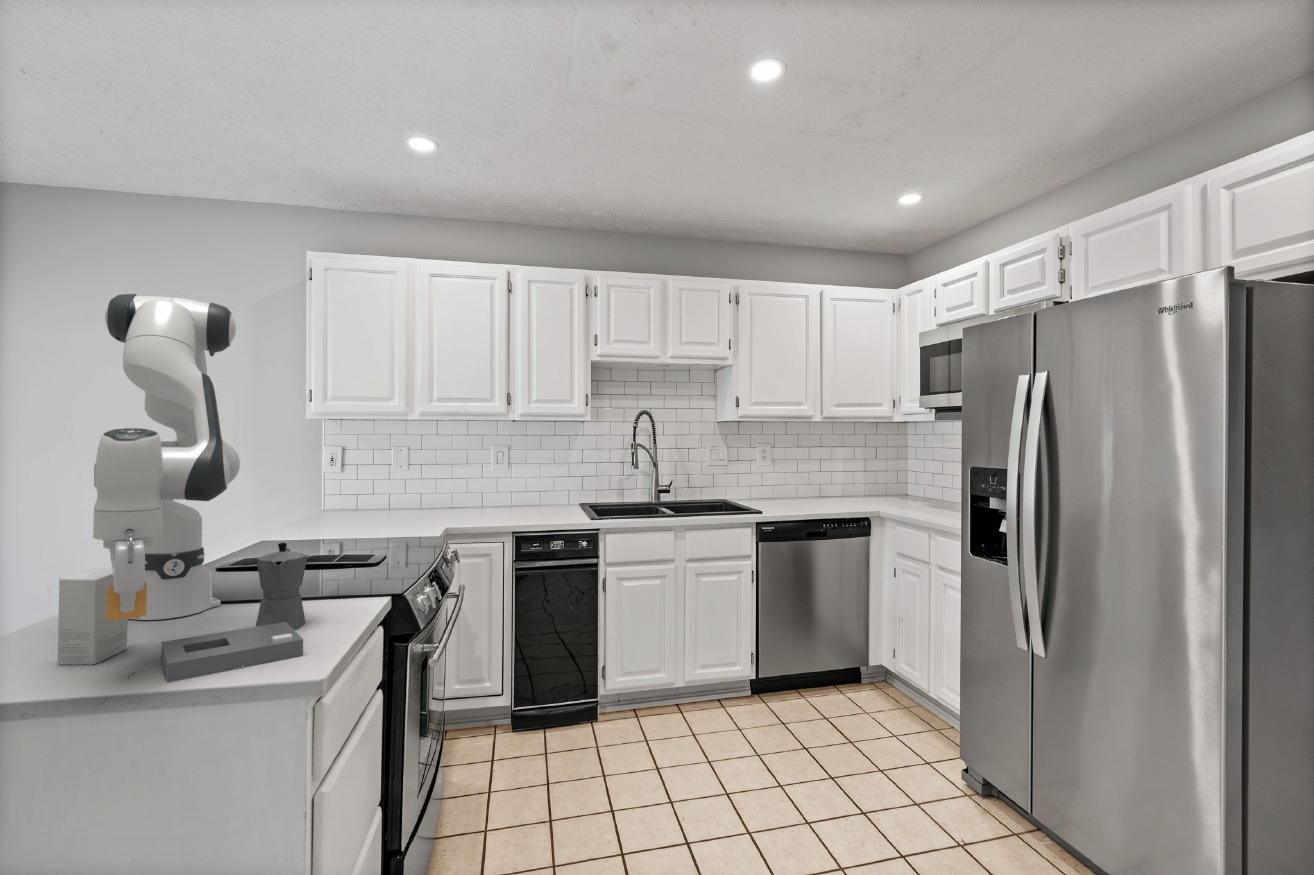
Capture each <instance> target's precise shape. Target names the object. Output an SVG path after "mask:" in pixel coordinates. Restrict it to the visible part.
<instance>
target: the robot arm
mask: <svg viewBox="0 0 1314 875" xmlns="http://www.w3.org/2000/svg"><path fill="white" fill-rule="evenodd" d="M232 314H233V313H232V311H231V310H230V309H229V308H228V307H226V306H224V305H220V304H217V303H214V302H210V303H208V302H203V301H200V300H195V299H194V300H193V299H189V298H183V297H176V296H174V297H169V296H159V295H158V296H155V295H137V293H125V294H117V295H116V296H115V297H113V298H111V299H110V300H109V302H108V304H107V307H106V309H105V313H104V321H105V325H106V328H107V330H108V333H109V335H110V336H111V337H112V338H113V339H114V340H116V341H118V342H121V343H123V344H124V346H123V352H122V368H123V372H124V374H125V375H126V377H127V379H128V380H129V381H130V382H132V384H134V385H135V386H136V387H137V388H138V389H141V391H144V411H145V413H146V415H147V416H148V417H149V418H150V419H151V420H152V421H153V422H156V423H158V424H160V425H162V426H165V427H168V428H170V429H172V430H173V431H174V432H175V436H176V440H171V441H170V440H169V441H166V440H165V441H163V440H162V441H161V437H160V434H159V433H158V432H157V431H154V430H152V429H147V428H138V427H136V428H135V427H127V428H126V427H125V428H124V427H123V428H115V429H110V430H108V431H106V432H104V433H102V434H101V436H100V438H99V439H100V440H99V444H98V447H97V453H96V457H95V458H96V459H95V462H94V468H93V470H94V471H93V472H94V473H93V485H94V487H95V489H96V493H97V496H96V500H95V503H94V506H93V530H92V532H93V534H92V535H93V536H92V538H93V539H95V540H101V541H103V542H102V547H103V548H104V549H108V550H109V557H110V562H111V563H110V564H111V568H112V569H113V582H114V591H115V593H120V611H121V612H122V613H125V612H132V611H133V610H134V609H135V597H136V592H137V591H142V590H143V589H144V584H145V582H146V584H147V606H146V616H140V619H135V617H131V618H128V620H140V621H154V620H155V621H156V620H165V619H166V620H168V619H174V618H181V617H186V616H192V615H195V614H198V613H201V612H204V611H206V610H208V609H211V608H215V607H218V606H221V605H222V604H221V603H222V602H221V600H220V599H218V598H217V597H214V596H213V584H212V582H213V581H212V580H213V578H212V577H213V576H212V571H211V570H210V569H208V568H207V567H206V566H205V565H204V562H205V554H206V553H205V549H204V547H203V517H202V515H201V514H200V512H199V511H198V510H197V509H195V508H193V507H191V506H188V505H187V504H183V503H180V502H177V500H185V501H195V502H196V501H197V502H198V501H199V502H210V501H211V500H214V499H215V498H217V497H218V496H220V495H221V494H223V493H224V492H225V491H226V490H227V489H228V485H229V484H230V483H232V481H234V479H236V477H237V476H238V474H239V472H240V467H241V459H240V457H239V454H238V452H237V451H236V450H235V448H234V447H233V446H231V445H230V444H229V443H227V442H225V441H224V440H223V438H222V430H221V421H220V416H219V409H218V404H217V403H218V401H217V397H216V390H215V387H214V383H213V381H212V378H211V377H210V376H209V375H208V368H207V366H208V365H207V357H206V352H205V351H207V352H208V353H209V356H210V357H214V356H215V354H216V353H220V352H223V351H225V350H226V349H227V348H229V347H230V346H231V343H232V342H233V340H234V339H235V336H236V333H237V329H236V328H237V326H236V320H235V318H234V317H233V315H232ZM174 500H176V501H174Z"/></svg>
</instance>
